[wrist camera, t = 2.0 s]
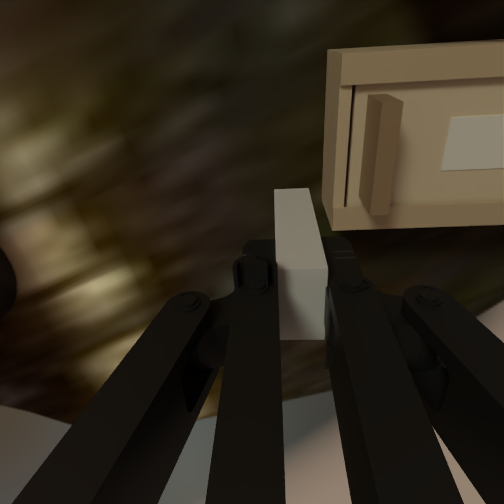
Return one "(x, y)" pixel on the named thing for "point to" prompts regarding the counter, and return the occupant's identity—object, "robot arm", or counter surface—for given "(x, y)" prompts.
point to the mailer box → (390, 71)
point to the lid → (426, 143)
